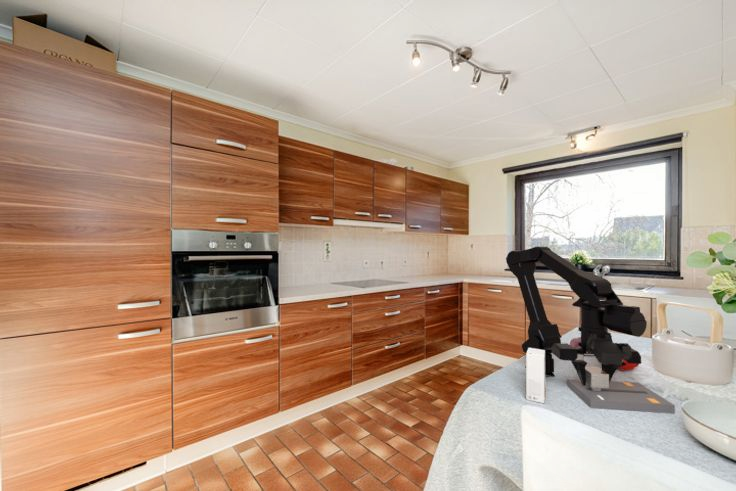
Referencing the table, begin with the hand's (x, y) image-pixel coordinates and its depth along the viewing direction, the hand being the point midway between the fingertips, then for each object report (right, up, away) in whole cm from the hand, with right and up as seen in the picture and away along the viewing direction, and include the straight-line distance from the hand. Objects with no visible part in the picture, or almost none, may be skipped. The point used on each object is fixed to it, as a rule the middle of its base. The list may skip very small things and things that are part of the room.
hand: (594, 385), depth 81 cm
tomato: (+22, -3, +20) cm, 30 cm away
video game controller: (+20, -3, +32) cm, 37 cm away
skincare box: (-15, -3, 0) cm, 15 cm away
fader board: (+5, -3, -1) cm, 6 cm away
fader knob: (0, -1, 0) cm, 1 cm away
